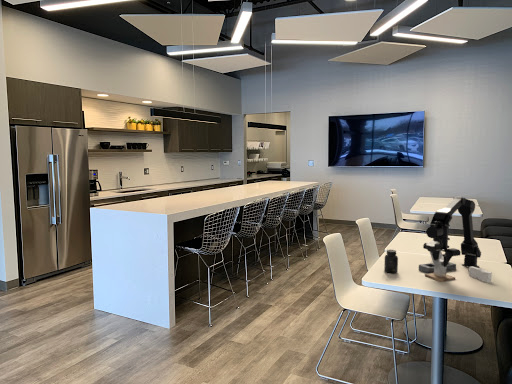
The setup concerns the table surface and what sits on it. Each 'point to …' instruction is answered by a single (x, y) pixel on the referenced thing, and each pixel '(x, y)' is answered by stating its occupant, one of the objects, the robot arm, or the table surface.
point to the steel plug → (439, 268)
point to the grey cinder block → (430, 267)
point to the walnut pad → (440, 277)
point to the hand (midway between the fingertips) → (440, 265)
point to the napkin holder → (480, 274)
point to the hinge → (439, 256)
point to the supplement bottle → (391, 262)
